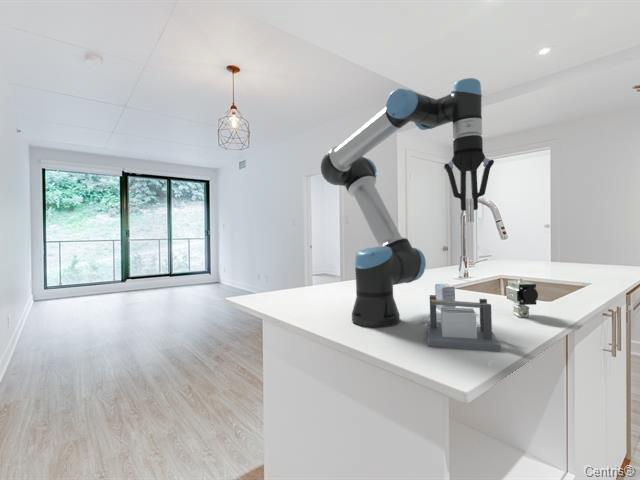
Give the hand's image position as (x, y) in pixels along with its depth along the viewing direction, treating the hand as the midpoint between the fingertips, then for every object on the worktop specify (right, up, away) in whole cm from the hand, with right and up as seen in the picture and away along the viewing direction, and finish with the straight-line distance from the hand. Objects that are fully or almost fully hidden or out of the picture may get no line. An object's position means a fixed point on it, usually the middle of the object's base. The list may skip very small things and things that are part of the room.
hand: (469, 222), depth 95 cm
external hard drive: (-4, -31, +12) cm, 33 cm away
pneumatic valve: (+21, -30, +12) cm, 39 cm away
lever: (-6, -22, -8) cm, 24 cm away
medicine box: (+2, -30, +25) cm, 39 cm away
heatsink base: (-6, -31, -7) cm, 32 cm away
